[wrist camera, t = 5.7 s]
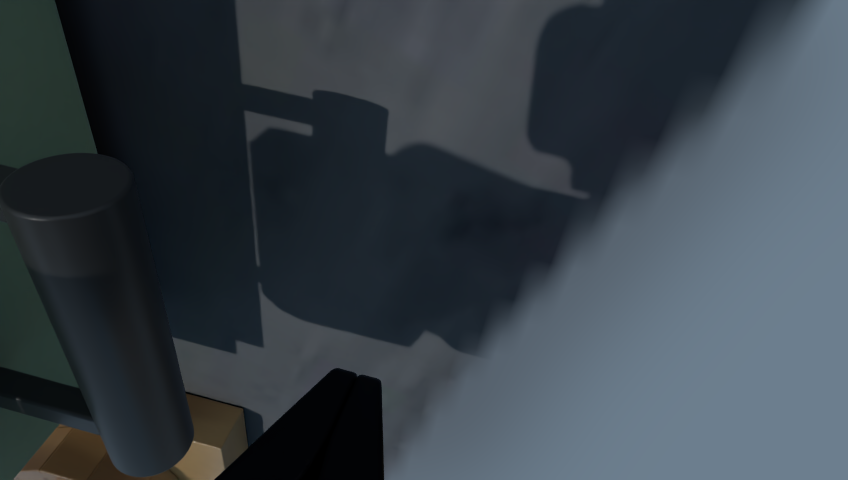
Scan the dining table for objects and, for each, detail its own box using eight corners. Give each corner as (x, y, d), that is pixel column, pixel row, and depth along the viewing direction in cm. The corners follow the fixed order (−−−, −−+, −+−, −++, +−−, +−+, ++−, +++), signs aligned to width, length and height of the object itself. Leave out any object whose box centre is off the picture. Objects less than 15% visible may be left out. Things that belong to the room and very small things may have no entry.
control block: (243, 408, 20) (193, 499, 18) (258, 518, 26) (221, 599, 23) (-2, 341, 21) (-86, 418, 19) (63, 462, 27) (6, 535, 24)
